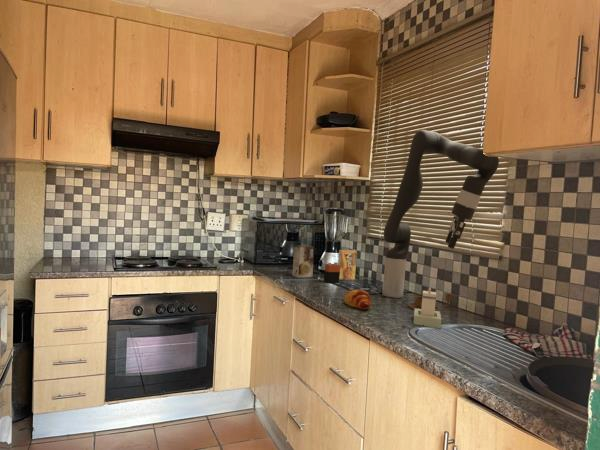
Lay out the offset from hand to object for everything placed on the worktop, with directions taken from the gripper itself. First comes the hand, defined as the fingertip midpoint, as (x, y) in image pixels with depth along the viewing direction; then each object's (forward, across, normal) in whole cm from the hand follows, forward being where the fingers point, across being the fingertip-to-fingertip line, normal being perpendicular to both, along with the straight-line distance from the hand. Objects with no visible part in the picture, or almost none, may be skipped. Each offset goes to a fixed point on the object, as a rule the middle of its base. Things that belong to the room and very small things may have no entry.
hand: (449, 245), depth 165 cm
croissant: (+36, -2, -24) cm, 43 cm away
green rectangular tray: (+27, +12, +1) cm, 29 cm away
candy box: (+46, -60, -32) cm, 82 cm away
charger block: (+26, +11, +1) cm, 29 cm away
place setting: (+29, -10, +6) cm, 32 cm away
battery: (+45, -45, -38) cm, 74 cm away
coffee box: (+50, -53, -54) cm, 91 cm away
